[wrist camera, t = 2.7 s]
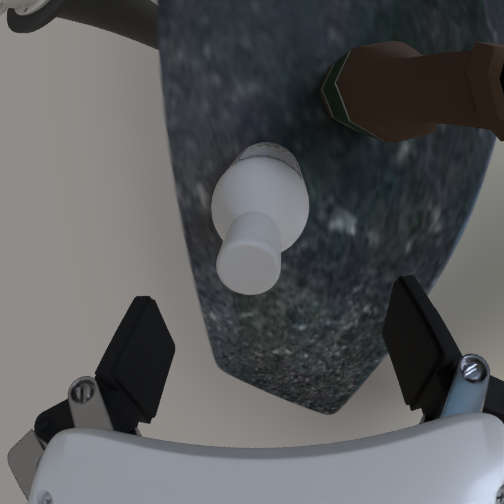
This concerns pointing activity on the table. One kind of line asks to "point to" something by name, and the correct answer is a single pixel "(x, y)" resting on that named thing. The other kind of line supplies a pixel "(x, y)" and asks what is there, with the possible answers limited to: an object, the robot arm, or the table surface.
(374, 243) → the table surface
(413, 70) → the beer bottle
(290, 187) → the bath foam
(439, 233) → the table surface
